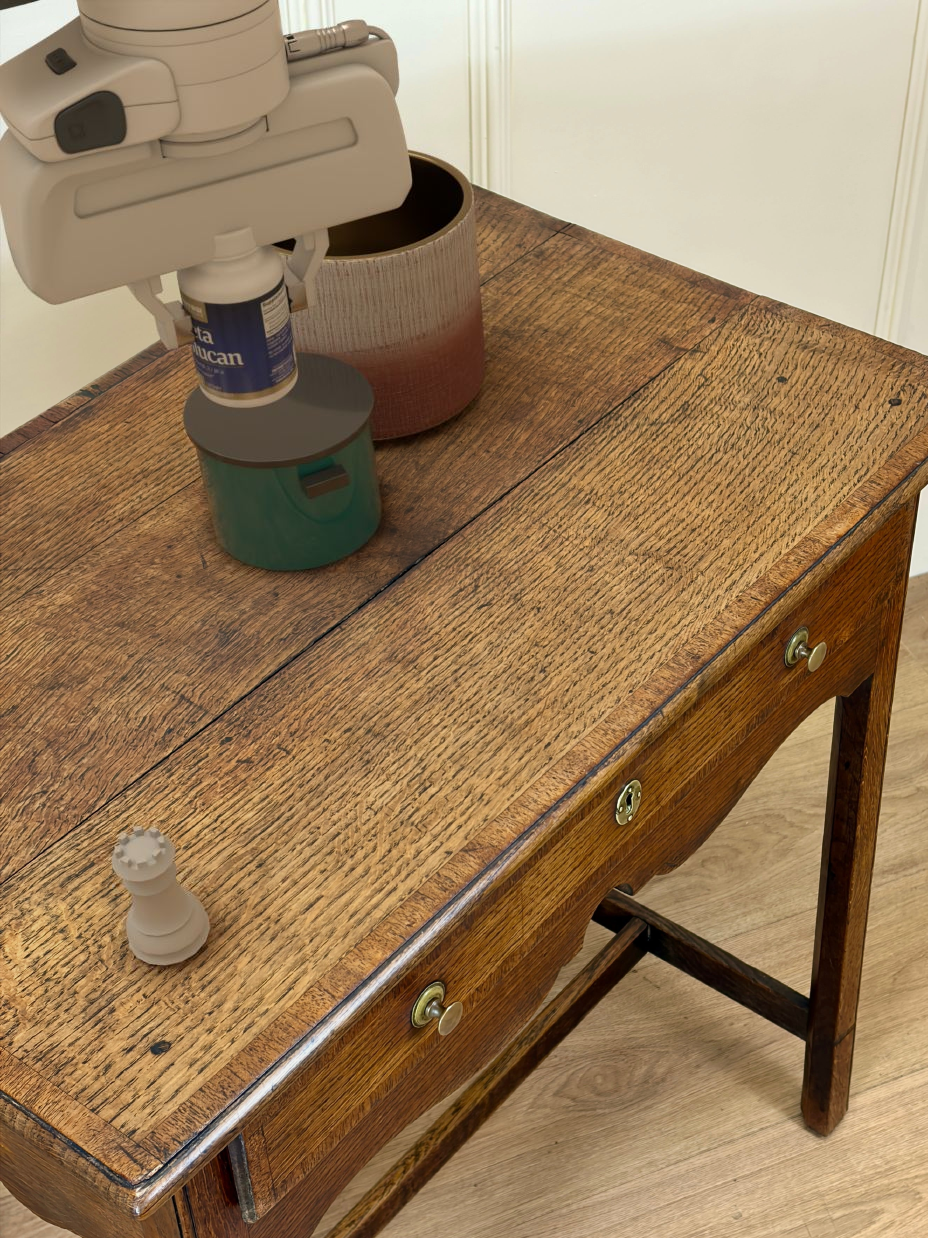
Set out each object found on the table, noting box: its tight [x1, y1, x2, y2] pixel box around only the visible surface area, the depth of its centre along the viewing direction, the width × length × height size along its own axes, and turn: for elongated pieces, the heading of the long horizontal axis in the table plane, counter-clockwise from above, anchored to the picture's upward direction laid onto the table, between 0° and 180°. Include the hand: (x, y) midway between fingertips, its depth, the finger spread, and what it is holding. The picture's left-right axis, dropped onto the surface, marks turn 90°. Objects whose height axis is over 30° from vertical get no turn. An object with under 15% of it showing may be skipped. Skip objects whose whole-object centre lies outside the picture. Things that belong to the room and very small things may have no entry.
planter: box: [269, 149, 486, 443], centre depth 112 cm, size 18×18×16 cm
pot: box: [182, 352, 383, 572], centre depth 103 cm, size 13×15×10 cm
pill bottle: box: [176, 227, 298, 408], centre depth 77 cm, size 5×5×10 cm
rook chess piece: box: [110, 824, 211, 966], centre depth 78 cm, size 4×4×8 cm
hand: (238, 323), depth 78 cm, fingers closed on pill bottle, 5 cm apart
